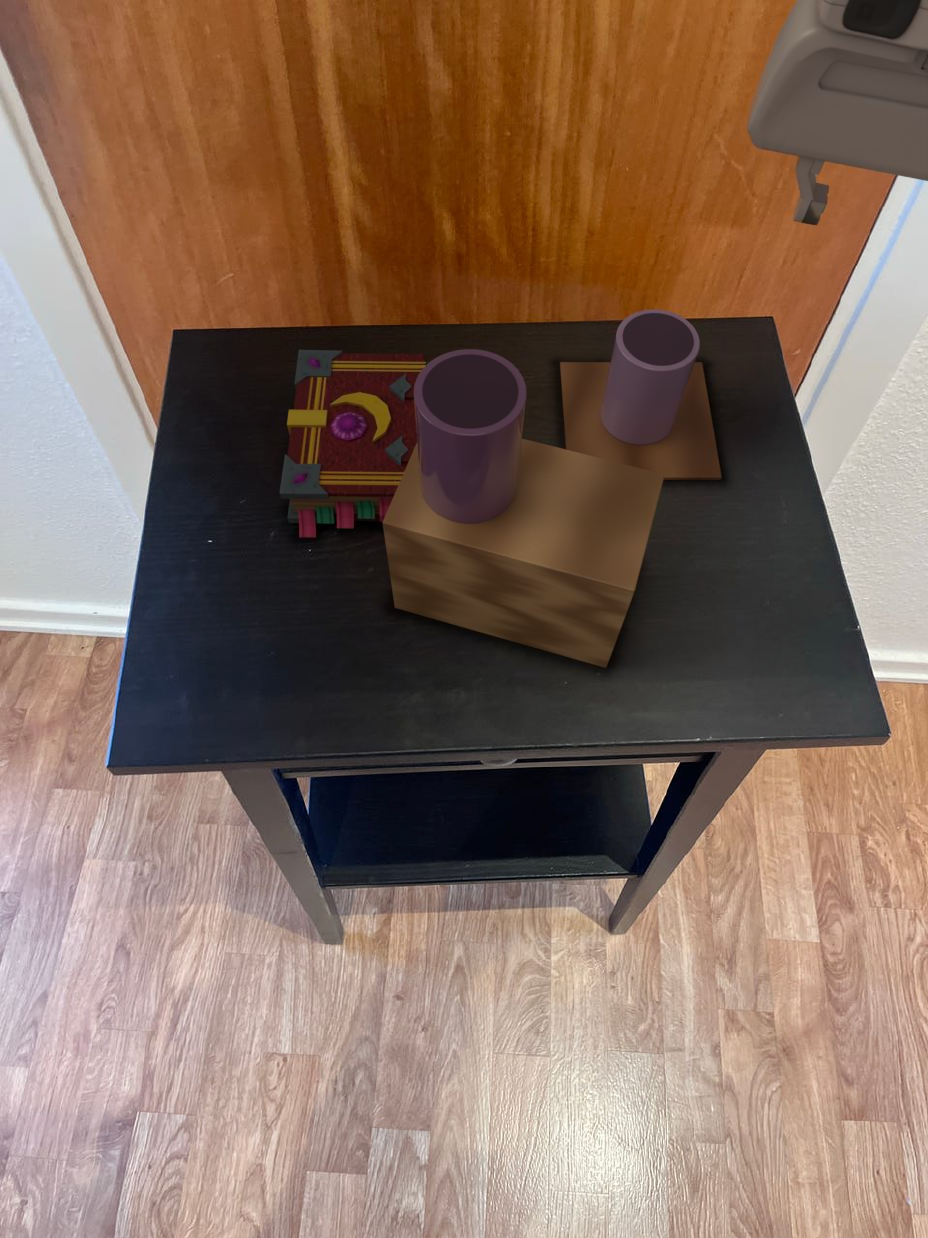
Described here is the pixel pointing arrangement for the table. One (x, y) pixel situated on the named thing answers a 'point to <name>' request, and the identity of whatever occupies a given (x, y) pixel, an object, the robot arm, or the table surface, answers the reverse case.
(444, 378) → the plum cup
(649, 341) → the lavender cup
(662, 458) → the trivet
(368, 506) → the decorative book
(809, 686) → the table surface
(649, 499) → the block
